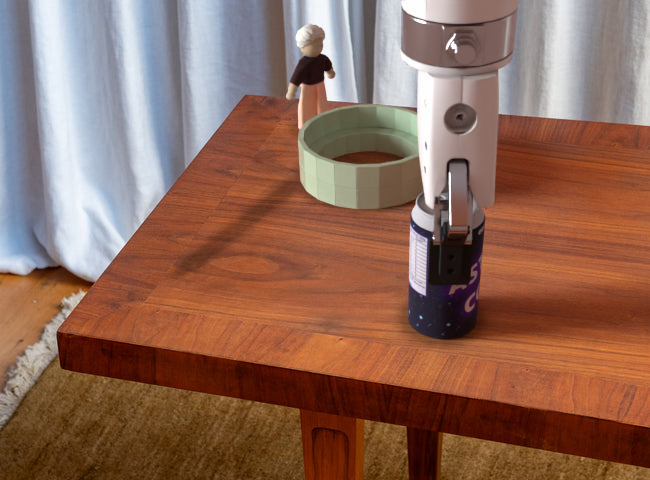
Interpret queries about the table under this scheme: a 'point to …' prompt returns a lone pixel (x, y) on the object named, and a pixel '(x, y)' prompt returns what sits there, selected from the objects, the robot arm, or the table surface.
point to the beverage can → (441, 300)
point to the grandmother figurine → (310, 74)
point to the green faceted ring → (357, 136)
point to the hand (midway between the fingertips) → (445, 257)
